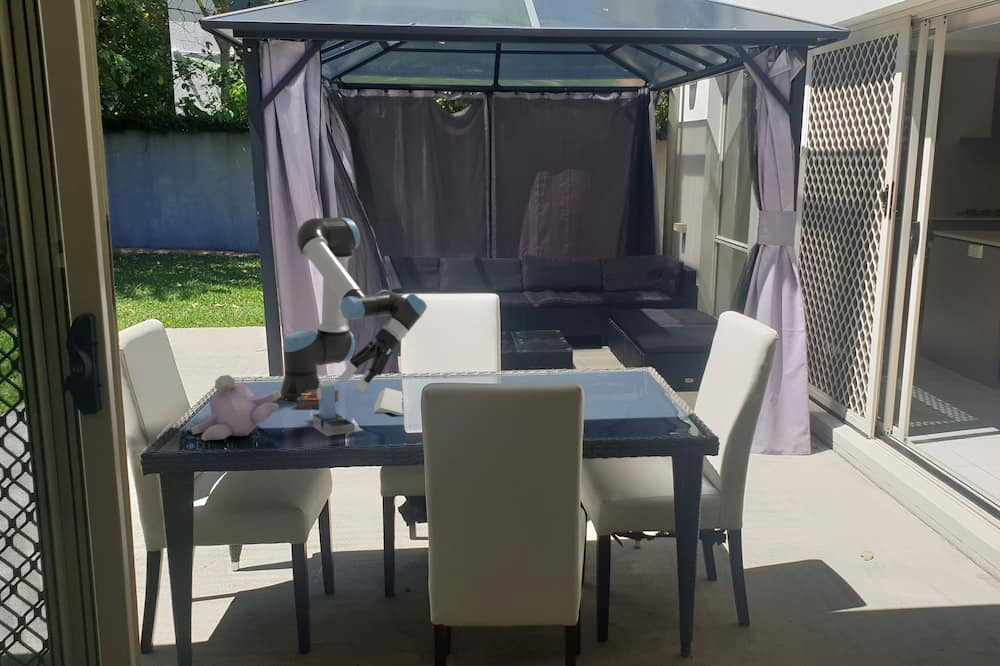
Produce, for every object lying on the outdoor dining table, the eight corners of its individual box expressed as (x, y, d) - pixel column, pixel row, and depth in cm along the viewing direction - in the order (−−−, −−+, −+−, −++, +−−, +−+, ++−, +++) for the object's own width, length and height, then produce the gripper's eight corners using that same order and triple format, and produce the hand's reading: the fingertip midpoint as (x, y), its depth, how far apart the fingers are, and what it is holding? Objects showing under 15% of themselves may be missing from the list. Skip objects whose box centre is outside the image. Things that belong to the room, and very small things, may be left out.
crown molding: (405, 417, 292) (405, 407, 291) (368, 418, 291) (368, 407, 290) (408, 397, 320) (408, 387, 320) (374, 397, 319) (374, 388, 319)
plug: (317, 421, 279) (315, 383, 277) (331, 419, 282) (330, 381, 280) (321, 424, 276) (320, 385, 274) (335, 422, 278) (334, 383, 276)
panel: (304, 424, 280) (304, 414, 280) (339, 419, 286) (339, 409, 286) (326, 439, 263) (326, 429, 263) (363, 433, 270) (363, 423, 269)
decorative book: (338, 402, 311) (338, 388, 310) (328, 413, 295) (328, 399, 294) (307, 401, 311) (307, 387, 310) (295, 413, 295) (295, 398, 294)
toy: (195, 434, 284) (203, 465, 257) (173, 387, 278) (179, 414, 251) (279, 398, 292) (296, 424, 265) (260, 352, 287) (274, 374, 260)
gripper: (415, 347, 277) (373, 399, 271) (382, 336, 298) (342, 385, 292) (400, 332, 273) (357, 385, 268) (367, 322, 294) (327, 371, 288)
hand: (349, 385), depth 280 cm, fingers open, 13 cm apart
